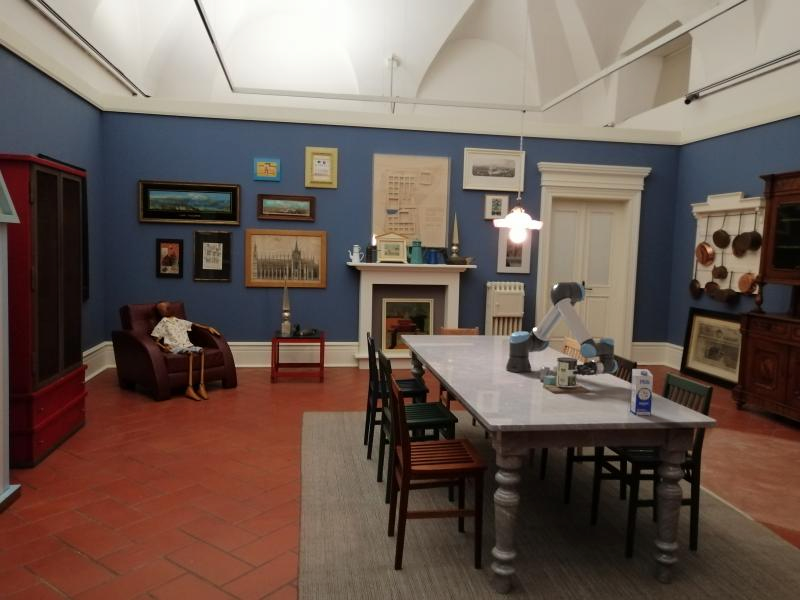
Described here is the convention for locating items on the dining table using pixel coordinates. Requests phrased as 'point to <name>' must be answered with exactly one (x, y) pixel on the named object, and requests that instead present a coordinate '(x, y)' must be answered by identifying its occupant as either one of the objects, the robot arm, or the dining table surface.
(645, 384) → the milk carton
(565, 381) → the coffee can
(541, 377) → the metal cylinder
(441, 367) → the dining table surface
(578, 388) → the walnut board
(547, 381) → the teal cube
